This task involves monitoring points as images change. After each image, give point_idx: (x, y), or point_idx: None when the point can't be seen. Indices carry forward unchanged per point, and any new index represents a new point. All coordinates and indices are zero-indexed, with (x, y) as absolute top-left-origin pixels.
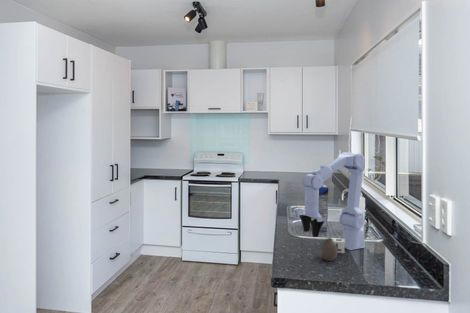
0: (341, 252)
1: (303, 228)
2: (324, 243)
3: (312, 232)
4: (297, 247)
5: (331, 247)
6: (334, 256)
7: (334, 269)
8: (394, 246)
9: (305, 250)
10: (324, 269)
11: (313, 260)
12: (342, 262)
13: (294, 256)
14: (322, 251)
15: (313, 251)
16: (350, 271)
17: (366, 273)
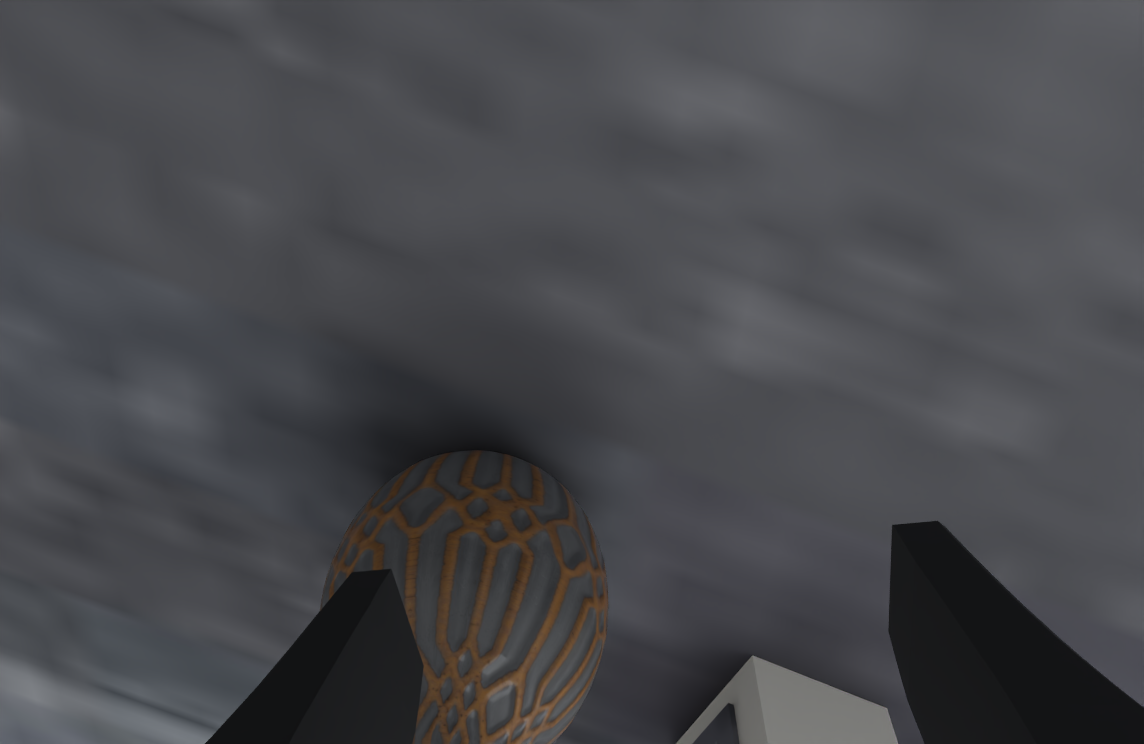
0: (691, 733)
1: (978, 570)
2: (420, 651)
3: (323, 651)
4: (1141, 239)
5: None
6: None
7: (111, 445)
8: None
9: (933, 327)
10: (88, 318)
11: (450, 291)
12: None
13: (682, 5)
14: (407, 509)
15: (845, 434)
16: (78, 587)
17: (52, 700)
